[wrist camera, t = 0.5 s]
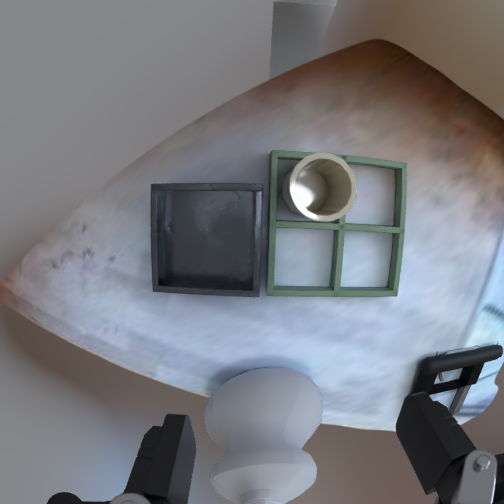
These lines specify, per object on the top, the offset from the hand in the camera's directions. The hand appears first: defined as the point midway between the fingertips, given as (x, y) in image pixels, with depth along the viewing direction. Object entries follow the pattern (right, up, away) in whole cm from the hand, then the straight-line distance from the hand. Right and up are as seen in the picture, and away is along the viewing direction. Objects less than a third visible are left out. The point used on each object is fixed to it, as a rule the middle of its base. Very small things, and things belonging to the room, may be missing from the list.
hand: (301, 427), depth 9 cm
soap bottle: (0, -15, +34) cm, 37 cm away
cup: (+5, +14, +29) cm, 33 cm away
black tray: (-7, +8, +30) cm, 32 cm away
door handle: (+36, -18, +34) cm, 52 cm away
